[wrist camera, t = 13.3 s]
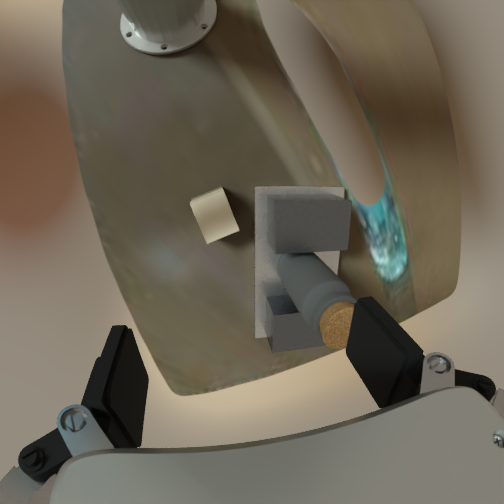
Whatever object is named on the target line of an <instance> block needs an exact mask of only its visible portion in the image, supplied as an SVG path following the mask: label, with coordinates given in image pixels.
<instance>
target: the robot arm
mask: <svg viewBox="0 0 504 504" xmlns="http://www.w3.org/2000/svg"><path fill="white" fill-rule="evenodd" d="M115 1H116V2H117V4H118V6H119V7H120V9H121V10H122V12H123V13H122V16H121V20H120V29H121V34H122V36H123V37H124V39H125V41H126V42H127V43H128V44H129V45H130V46H131V47H132V48H134V49H135V50H137V51H139V52H142V53H146V54H152V55H165V54H171V53H176V52H179V51H182V50H185V49H187V48H189V47H191V46H193V45H195V44H196V43H197V42H199V41H200V40H202V39H203V38H204V37H205V36H206V35H207V34H208V33H209V31H210V30H211V28H212V27H213V25H214V23H215V20H216V15H217V5H216V1H215V0H115ZM203 28H206V29H203ZM130 36H131V37H130ZM164 48H167V49H165V50H163V49H164ZM346 354H347V357H348V358H349V360H350V362H351V363H352V365H353V366H354V368H355V370H356V371H357V373H358V374H359V376H360V378H361V379H362V381H363V382H364V384H365V385H366V387H367V389H368V390H369V392H370V394H371V395H372V397H373V398H374V400H375V402H376V403H377V405H378V406H379V408H383V409H380V410H377V411H374V412H371V413H368V414H366V415H363V416H360V417H357V418H353V419H350V420H347V421H343V422H340V423H337V424H333V425H330V426H325V427H322V428H318V429H314V430H310V431H305V432H301V433H297V434H292V435H288V436H282V437H277V438H271V439H265V440H259V441H252V442H245V443H237V444H229V445H218V446H206V447H187V448H137V447H140V446H141V442H142V431H143V421H144V414H145V405H146V397H147V390H148V382H149V379H148V374H147V371H146V369H145V366H144V363H143V361H142V358H141V355H140V352H139V350H138V346H137V344H136V340H135V338H134V334H133V331H132V329H128V327H127V326H126V325H116V326H112V328H111V331H110V333H109V336H108V338H107V341H106V343H105V346H104V349H103V351H102V354H101V357H98V358H97V359H96V361H95V364H94V367H93V370H92V372H91V375H90V378H89V381H88V384H87V387H86V390H85V393H84V396H83V399H82V402H81V405H78V404H75V405H70V406H67V407H65V408H64V409H63V410H62V411H61V412H60V413H59V415H58V417H57V426H58V428H56V429H55V430H53V431H51V432H50V433H48V434H46V435H45V436H43V437H41V438H40V439H38V440H36V441H35V442H33V443H31V444H29V445H28V446H26V447H25V448H23V449H22V451H21V452H20V455H19V459H18V460H19V461H18V463H19V466H18V467H17V468H16V467H15V466H14V467H13V468H12V469H11V470H10V471H9V472H8V473H7V474H6V475H5V477H4V478H3V479H2V480H1V481H0V504H504V390H502V389H500V388H499V389H498V390H496V387H495V384H494V382H493V381H492V380H491V379H490V378H488V377H486V376H483V375H479V374H474V373H469V372H465V371H460V370H456V369H454V363H453V361H452V360H451V359H450V358H449V357H448V356H447V355H445V354H442V353H438V352H434V353H430V354H428V355H426V357H425V356H424V355H423V350H422V349H421V348H420V347H419V346H418V344H417V343H416V342H415V341H414V340H413V339H412V338H411V337H410V336H409V335H408V334H407V332H406V331H405V330H403V328H402V327H401V326H400V325H399V324H398V323H397V322H396V321H395V320H394V319H393V318H392V317H391V316H390V315H389V314H388V313H387V311H386V310H385V309H384V308H383V307H382V306H381V305H380V304H379V303H378V302H377V301H376V300H375V299H374V298H373V297H365V298H360V299H358V301H357V302H356V303H355V305H354V310H353V315H352V321H351V326H350V331H349V336H348V341H347V346H346Z"/></svg>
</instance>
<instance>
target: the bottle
mask: <svg viewBox="0 0 504 504" xmlns="http://www.w3.org/2000/svg"><path fill="white" fill-rule="evenodd" d="M278 275H279V278H280V280H281V281H282V283H283V285H284V287H285V289H286V290H287V292H288V294H289V295H290V297H291V299H292V301H293V302H294V304H295V306H296V307H297V309H298V311H299V312H300V314H301V316H302V317H303V319H304V320H305V322H306V323H307V324H308V325H310V326H312V327H313V329H314V331H315V332H316V334H317V335H318V336H319V337H321V338H323V341H324V343H325V344H326V345H327V346H328V347H330V348H333V349H342V348H346V346H347V341H348V336H349V331H350V326H351V321H352V315H353V310H354V305H355V303H356V302H357V300H356V299H355V298H354V297H353V296H352V294H351V291H350V289H349V287H348V286H347V285H346V284H345V283H344V282H343V281H342V280H341V279H340V278H339V277H338V276H337V275H336V274H335V273H334V272H333V271H332V270H331V269H330V268H329V267H328V266H327V265H326V264H325V263H324V262H323V261H322V260H321V259H320V258H319V257H318V256H317V255H316V254H315V253H314V252H308V253H291V254H284V255H283V256H282V257H281V259H280V261H279V263H278Z"/></svg>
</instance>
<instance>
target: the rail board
mask: <svg viewBox="0 0 504 504" xmlns="http://www.w3.org/2000/svg"><path fill="white" fill-rule="evenodd" d="M351 207H352V201H351V200H348V199H345V198H344V187H341V186H254V336H255V338H262V337H267V339H268V342H269V345H270V348H271V350H272V353H273V352H281V351H289V350H296V349H303V348H310V347H316V346H322V345H326V344H325V343H324V341H323V338H321V337H319V336H318V335H317V334H316V332H315V331H314V329H313V327H312V326H310V325H308V324H307V323H306V322H305V320H304V319H303V317H302V316H301V314H300V312H299V311H298V309H297V307H296V306H295V304H294V302H293V301H292V299H291V297H290V295H289V294H288V292H287V290H286V289H285V287H284V285H283V283H282V281H281V280H280V278H279V275H278V263H279V261H280V259H281V257H282V256H283V255H284V254H291V253H308V252H314V253H315V254H316V255H317V256H318V257H319V258H320V259H321V260H322V261H323V262H324V263H325V264H326V265H327V266H328V267H329V268H330V269H331V270H332V271H333V272H334V273H335V274H336V275H337V272H338V264H339V254H340V251H342V250H348V243H349V232H350V220H351Z"/></svg>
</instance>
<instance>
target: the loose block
mask: <svg viewBox="0 0 504 504" xmlns="http://www.w3.org/2000/svg"><path fill="white" fill-rule="evenodd" d="M190 206H191V208H192V210H193V213H194V215H195V217H196V219H197V222H198V224H199V226H200V229H201V231H202V233H203V236H204V238H205V240H206V242H207V244H208V243H210V242H213V241H215V240H218V239H220V238H223V237H225V236H227V235H230V234H232V233H235V232H237V231H240V230H239V228H238V225H237V223H236V220H235V218H234V215H233V213H232V210H231V208H230V205H229V203H228V200H227V198H226V195H225V193H224V190H223V188H222V187H219V188H217V189H214V190H212V191H209V192H207V193H204V194H202V195H200V196H197V197H195V198H193V199H191V202H190Z"/></svg>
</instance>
